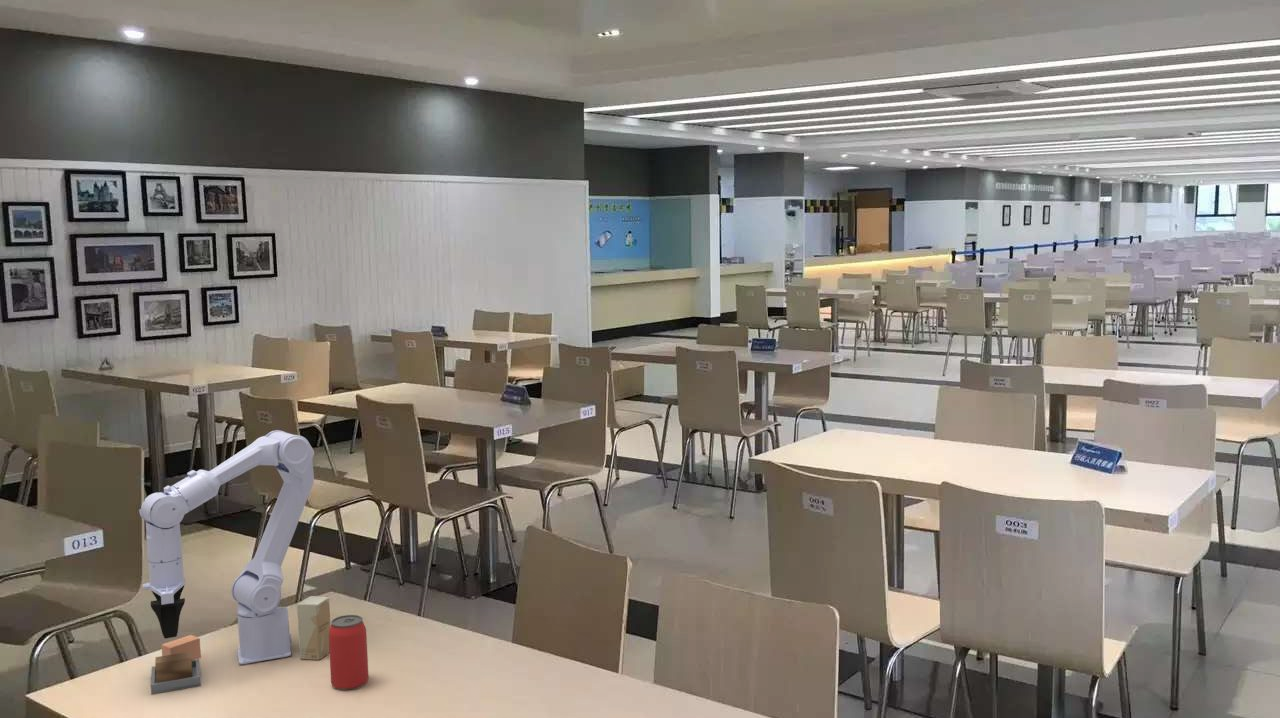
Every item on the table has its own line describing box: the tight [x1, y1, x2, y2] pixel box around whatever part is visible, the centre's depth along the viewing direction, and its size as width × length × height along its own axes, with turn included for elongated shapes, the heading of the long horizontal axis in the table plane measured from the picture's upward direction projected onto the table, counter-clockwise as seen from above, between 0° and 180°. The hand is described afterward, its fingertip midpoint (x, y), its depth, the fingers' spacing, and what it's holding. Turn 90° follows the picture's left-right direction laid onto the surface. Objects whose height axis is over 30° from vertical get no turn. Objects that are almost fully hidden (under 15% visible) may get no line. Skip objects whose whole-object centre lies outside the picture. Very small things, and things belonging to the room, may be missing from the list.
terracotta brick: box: [160, 634, 202, 660], centre depth 201 cm, size 6×3×4 cm, turn 144°
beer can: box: [328, 614, 370, 691], centre depth 188 cm, size 7×7×12 cm
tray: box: [150, 658, 201, 695], centre depth 191 cm, size 8×9×2 cm
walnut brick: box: [154, 652, 193, 683], centre depth 191 cm, size 6×3×4 cm, turn 114°
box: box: [296, 595, 331, 661], centre depth 202 cm, size 5×4×11 cm
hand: (170, 630), depth 191 cm, fingers open, 7 cm apart
